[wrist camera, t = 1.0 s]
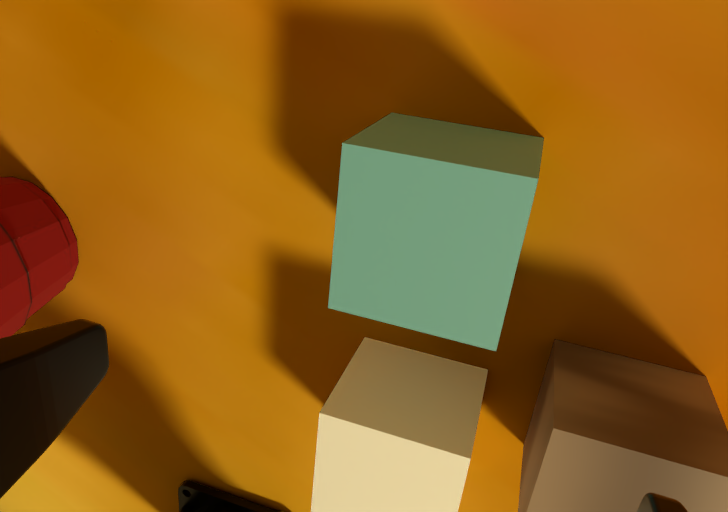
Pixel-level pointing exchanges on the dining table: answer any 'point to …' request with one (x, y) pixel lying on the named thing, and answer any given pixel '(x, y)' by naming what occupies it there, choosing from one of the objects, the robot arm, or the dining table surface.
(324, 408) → the cream block
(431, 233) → the teal block
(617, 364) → the walnut block
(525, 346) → the dining table surface
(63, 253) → the plastic cup
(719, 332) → the dining table surface
